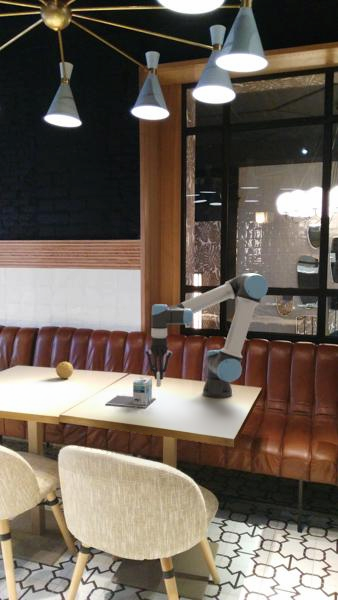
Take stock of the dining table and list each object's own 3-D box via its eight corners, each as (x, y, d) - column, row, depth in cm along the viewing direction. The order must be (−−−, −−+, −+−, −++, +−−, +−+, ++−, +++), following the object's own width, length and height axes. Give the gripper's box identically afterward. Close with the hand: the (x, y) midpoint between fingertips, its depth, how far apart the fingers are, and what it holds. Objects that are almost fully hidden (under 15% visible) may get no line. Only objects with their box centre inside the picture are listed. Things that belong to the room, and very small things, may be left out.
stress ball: (67, 377, 286) (54, 367, 284) (77, 366, 285) (64, 355, 283) (64, 384, 276) (51, 374, 275) (75, 372, 275) (61, 361, 273)
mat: (155, 399, 237) (155, 398, 237) (145, 408, 221) (145, 407, 221) (117, 396, 242) (117, 395, 242) (105, 405, 226) (105, 403, 226)
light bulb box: (146, 405, 224) (146, 382, 223) (132, 404, 226) (132, 382, 225) (152, 399, 234) (152, 377, 234) (139, 398, 236) (139, 377, 235)
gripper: (174, 336, 228) (173, 385, 229) (148, 335, 231) (148, 383, 233) (170, 338, 220) (170, 388, 222) (143, 337, 224) (143, 386, 225)
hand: (158, 385), depth 227 cm, fingers closed
